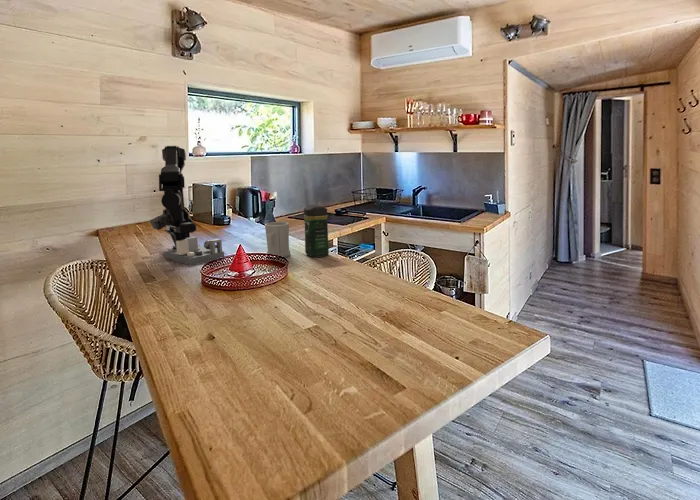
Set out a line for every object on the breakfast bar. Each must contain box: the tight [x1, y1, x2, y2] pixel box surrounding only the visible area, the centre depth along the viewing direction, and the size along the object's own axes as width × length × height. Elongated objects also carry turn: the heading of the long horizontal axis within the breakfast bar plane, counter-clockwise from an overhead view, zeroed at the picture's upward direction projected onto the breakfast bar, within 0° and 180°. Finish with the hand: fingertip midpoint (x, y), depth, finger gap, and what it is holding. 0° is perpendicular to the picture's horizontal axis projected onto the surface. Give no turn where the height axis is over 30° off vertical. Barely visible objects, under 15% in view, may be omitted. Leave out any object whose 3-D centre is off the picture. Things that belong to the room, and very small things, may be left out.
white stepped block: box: [185, 236, 200, 252], centre depth 172 cm, size 4×4×5 cm
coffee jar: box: [303, 204, 330, 258], centre depth 171 cm, size 10×8×19 cm
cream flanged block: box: [175, 239, 191, 255], centre depth 168 cm, size 4×4×5 cm
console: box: [165, 238, 225, 266], centre depth 172 cm, size 18×14×7 cm
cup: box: [264, 221, 291, 258], centre depth 171 cm, size 10×9×12 cm
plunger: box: [203, 240, 218, 249], centre depth 171 cm, size 6×3×3 cm, turn 48°
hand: (178, 249), depth 170 cm, fingers closed
